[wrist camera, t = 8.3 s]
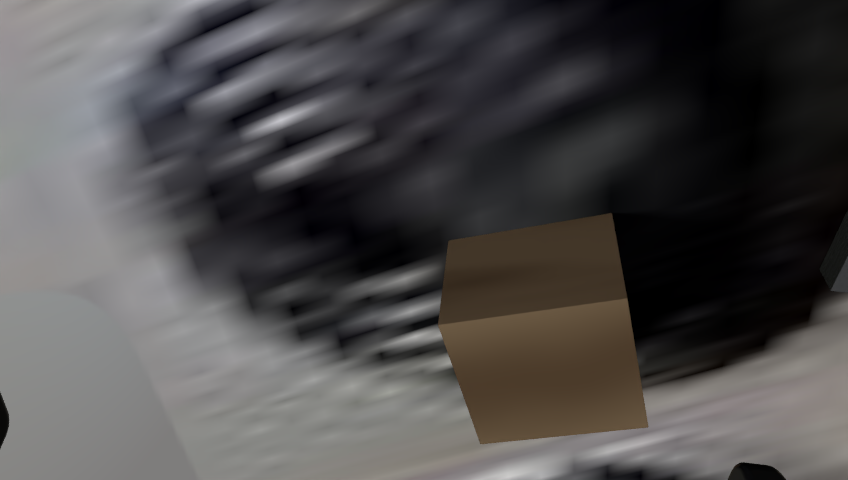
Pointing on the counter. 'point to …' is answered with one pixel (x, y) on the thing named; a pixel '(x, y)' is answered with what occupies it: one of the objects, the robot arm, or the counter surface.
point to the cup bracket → (837, 260)
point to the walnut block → (542, 331)
